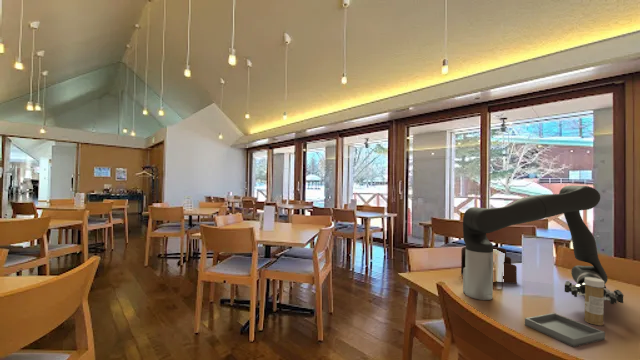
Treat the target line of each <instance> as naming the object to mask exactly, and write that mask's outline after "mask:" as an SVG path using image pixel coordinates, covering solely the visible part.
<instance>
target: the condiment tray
mask: <svg viewBox="0 0 640 360" xmlns="http://www.w3.org/2000/svg"><path fill="white" fill-rule="evenodd" d="M524 325H525V326H526V327H528V328H531V329H533V330H535V331H537V332H539V333H542V334H544V335H547V336H548V337H551V338H553V339H555V340H556V341H560V342H562V343H563V344H566V345H568V346H570V347H573V348H575V347H576V346H577V347H580V346H579V345H581V346H584V345H583V344H585V345H588V344H587V343H589V344H593V343H596V342H601V341H604V340H606V332H605V331H604V330H600V329H598V328H596V327H592V326H590V325H587V324H585V323H582V322H580V321H577V320H574V319H572V318H569V317H566V316H564V315H562V314H561V315H560V314H558V313H557V312H550V313H545V314H541V315H539V314H538V315H535V316H528V317H524Z"/></svg>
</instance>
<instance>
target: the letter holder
mask: <svg viewBox="0 0 640 360" xmlns="http://www.w3.org/2000/svg"><path fill="white" fill-rule="evenodd" d="M493 249H497V250H499V251H501V252H503V253H505V262H504V276H503V279H504V283H503V284H505V283H506V284H517V283H518V282H517V281H518V276H517V273H518V271H517V269H518V268H517V266H516V265H515V264H512V258H511V257H510V256H507V249H506V248H503V247H497V246H493ZM460 256H461V258H460V261H461V263H460V265H461V267H460V269H461V270H460V275H461V274H462V275H463V268H464V267H465V260H466V246H463V247H462V248H461V255H460ZM462 275H461V276H462Z"/></svg>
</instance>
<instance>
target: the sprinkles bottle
mask: <svg viewBox="0 0 640 360" xmlns="http://www.w3.org/2000/svg"><path fill="white" fill-rule="evenodd" d="M584 283H585V296H584V318H583V319H584V321H585V322H586V323H588V324H591V325H595V326H604V314H605V312H604V310H605V308H604V306H605V305H604V303H605V300H604V296H603V294H604V281H603V280H601V279H598V278H592V277H586V278H585V280H584Z"/></svg>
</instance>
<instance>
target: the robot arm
mask: <svg viewBox="0 0 640 360" xmlns="http://www.w3.org/2000/svg"><path fill="white" fill-rule="evenodd" d="M600 200H601V194H600V192H599V191H598V190H597V189H596V188H594V187H592V186H588V185H565V186H563V187H562V188H561V189H560V190H559V192H558V193H553V194H551V193H550V194H538V195H531V196H526V197H522V198H519V199H516V200H515V201H513V202H511V203H510V204H508V205H505V206H502V207H494V208H488V207H487V208H485V207H478V206H476V207H475V206H473V207H469V208H468V209H466V210H465V212H464V214H463V218H462V234H463V235H462V236H463V237H462V238H463V242H464V245H465V247H466V260H465V267H464V268H463V276H462V293H463V294H465V295H466V296H467V297H469V298H471V299H475V300H481V301H489V300H492V299H493V297H494V296H493V293H494V292H493V291H494V289H493V288H494V287H493V286H494V285H493V284H494V282H493V247H494V244H493V243H492V242H491V241H490V240H489V238H488V237H487V234H490V233H493V232H496V231H500V230H501V229H504V228H509V227H510V226H515V225H520V224H521V225H522V224H525V223H531V222H535V221H540V220H543V219H547V218H551V217H555V216H559V215H562V214H563V215H564V218H565V221H566V224H567V226H568V229H569V233H570V236H571V242H572V243H571V244H572V247H573V255H574V258H575V259H576V260H577V261H580V262H584V263H587V264H590V265H574V266H573V267H572V268H571V270H570V272H571V277H572V279H573V281H574V282H575V283H576V284H572V282H571V281H570V280H569V281H568V280H567V281H565V283H564V293H571V296H573V297H575V298H577V297H578V295H579V296H584V297H585V283H584V280H585V278H586V277H592V278H598V279H601V280H603V281H604V294H603V296H604V301H609V303H610V305H615V304H617V303H620V304H624V296H625V295H624V294H623V293H622V291H621V290H619V289H615V290H613V291H612V290H610V289H608V288H607V287H606V284H607V282H608V275H607V273H606V270H605V269H604V267H603V265H602V263H601V261H600V258H599V254H598V249H597V242H596V240H595V239H596V238H595V237H594V235H593V234H592V232H591V230H590V229H589V227H588V226H587V225H586V223H585V221H584V220H583V217H582V216H581V213H580V212H581V211H588V210H591V209H594V208H595V207H596V206H598V204H599V203H600Z"/></svg>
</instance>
